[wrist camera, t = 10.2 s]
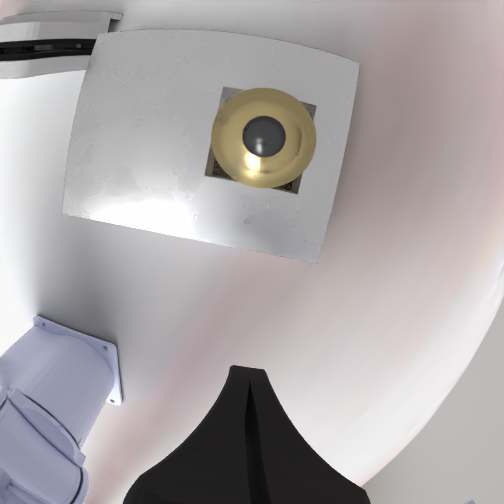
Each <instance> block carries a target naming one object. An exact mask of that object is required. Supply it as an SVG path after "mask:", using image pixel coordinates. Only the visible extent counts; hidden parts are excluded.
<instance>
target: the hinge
mask: <svg viewBox="0 0 504 504" xmlns="http://www.w3.org/2000/svg"><path fill="white" fill-rule="evenodd" d="M122 16H123V14H118V13H113V12H101V11H55V12H41V13H31V14H22V15H15V16H9V17H4V18H3V19H2V20H1V21H0V79H18V78H28V77H33V76H39V75H45V74H52V73H60V72H69V71H79V70H87V67H88V63H89V60H90V57H91V54H92V51H93V49H87V48H82V47H81V44H95V43H96V40H97V37H98V35H99V34H103V33H108V28H109V23H110V19H117V20H121V18H122ZM28 46H35V47H34V51H33V50H27V49H26V47H28Z"/></svg>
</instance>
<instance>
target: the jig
mask: <svg viewBox="0 0 504 504" xmlns="http://www.w3.org/2000/svg"><path fill="white" fill-rule="evenodd" d="M359 66H360V63H359V62H356V61H353V60H350V59H347V58H344V57H341V56H338V55H335V54H331V53H328V52H325V51H321V50H318V49H314V48H310V47H306V46H302V45H298V44H294V43H289V42H285V41H280V40H275V39H270V38H264V37H258V36H252V35H245V34H238V33H229V32H219V31H207V30H188V29H151V30H132V31H120V32H111V33H103V34H99V35H98V37H97V40H96V43H95V46H94V48H93V51H92V54H91V57H90V60H89V63H88V67H87V70H86V73H85V77H84V80H83V84H82V87H81V91H80V95H79V99H78V103H77V108H76V112H75V117H74V122H73V127H72V132H71V138H70V144H69V151H68V158H67V165H66V174H65V184H64V196H63V213H62V214H66V215H71V216H76V217H81V218H86V219H92V220H97V221H102V222H107V223H112V224H117V225H122V226H127V227H133V228H138V229H143V230H148V231H153V232H158V233H163V234H168V235H174V236H179V237H184V238H189V239H194V240H199V241H204V242H209V243H214V244H219V245H225V246H230V247H235V248H240V249H245V250H250V251H255V252H260V253H265V254H270V255H275V256H281V257H286V258H291V259H296V260H301V261H306V262H311V263H316V264H318V260H319V256H320V253H321V249H322V245H323V242H324V238H325V234H326V230H327V226H328V222H329V218H330V214H331V210H332V206H333V202H334V198H335V194H336V189H337V185H338V181H339V176H340V172H341V167H342V162H343V158H344V153H345V148H346V143H347V138H348V133H349V127H350V122H351V116H352V111H353V105H354V99H355V93H356V87H357V80H358V73H359ZM253 88H273V89H277V90H281V91H283V92H286V93H288V94H290V95H292V96H293V97H295V98H296V99H297V100H298V101H300V102H301V103H302V104H303V105H304V107H305V108H306V109H307V110H308V112H309V114H310V115H311V117H312V120H313V122H314V125H315V129H316V148H315V152H314V155H313V158H312V160H311V162H310V163H309V165H308V167H307V168H306V169H305V170H304V171H303V172H302V173H301V174H300V175H299V176H298V177H297V178H296V179H294V180H293V182H292V186H291V190H287V189H282V188H278V187H274V188H255V187H251V186H247V185H244V184H242V183H240V182H238V181H236V180H234V179H233V178H228V177H223V176H217V175H212V174H213V168H214V163H215V155H214V153H213V149H212V144H211V131H212V126H213V122H214V119H215V117H216V115H217V113H218V112H219V110H220V109H221V107H222V106H223V105H224V104H225V103H226V102H227V101H228V99H231V98H232V97H233V96H235V95H237V94H238V93H240V92H243V91H245V90H249V89H253Z"/></svg>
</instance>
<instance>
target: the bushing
mask: <svg viewBox="0 0 504 504" xmlns="http://www.w3.org/2000/svg"><path fill="white" fill-rule="evenodd" d="M211 144H212V149H213V153H214V155H215V158H216V160H217V162H218V163H219V165H220V166H221V168H222V169H223V170H224V171H225V172H226V173H227V174H228V175H229V176H230V177H232V178H233V179H234V180H236V181H238V182H240V183H242V184H244V185H247V186H251V187H255V188H274V187H278V186H282V185H284V184H287V183H289V182H291V181H292V180H294V179H296V178H297V177H298V176H299V175H300V174H301V173H302V172H303V171H304V170H305V169H306V168H307V167H308V165H309V163H310V162H311V160H312V158H313V155H314V152H315V148H316V129H315V125H314V122H313V120H312V117H311V115H310V114H309V112H308V110H307V109H306V108H305V107H304V105H303V104H302V103H301V102H300V101H298V100H297V99H296V98H295V97H293V96H292V95H290V94H288V93H286V92H283V91H281V90H277V89H273V88H253V89H249V90H245V91H243V92H240V93H238V94H237V95H235V96H233V97H232V98H231V99H229V100H228V101H227V102H226V103H225V104H224V105H223V106H222V107H221V109H220V110H219V112H218V113H217V115H216V117H215V119H214V122H213V126H212V131H211Z"/></svg>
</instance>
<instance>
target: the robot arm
mask: <svg viewBox="0 0 504 504" xmlns="http://www.w3.org/2000/svg"><path fill="white" fill-rule="evenodd" d="M33 320H34V325H35V326H33V327H32V328H31V329H30V330H29V331H28V332H27V333H25V334H24V335H23V336H22V337H21V338H20V339H19V340H18V341H17V342H15V343H14V344H13V345H12V346H11V347H10V348H9V349H8V350H7V351H6V352H5V353H4V354H3V355H2V356H1V357H0V504H84V503H85V501H86V499H87V496H88V492H89V476H88V473H87V471H86V469H85V468H84V467H83V466H82V465H83V463H84V461H85V458H86V456H85V455H84V454H82V453H81V451H80V450H81V448H82V446H83V444H84V442H85V440H86V438H87V436H88V434H89V432H90V430H91V428H92V426H93V424H94V422H95V420H96V419H97V417H98V415H99V413H100V411H101V409H102V407H103V406H104V404H105V402H109V403H112V404H115V405H118V406H121V405H122V394H121V386H120V378H119V368H118V357H117V348H116V346H115V345H114V344H112V343H110V342H106V341H103V340H100V339H97V338H94V337H92V336H89V335H86V334H83V333H80V332H77V331H75V330H72V329H69V328H67V327H64V326H62V325H59V324H57V323H54V322H52V321H49V320H47V319H44V318H42V317H40V316H35V317H34V318H33ZM105 346H106V347H107V348H106V347H105ZM123 504H371V503H370V500H369V498H368V496H367V493H366V491H365V490H364V489H362V488H361V487H359V486H357V485H356V484H354V483H353V482H351V481H350V480H348V479H347V478H345V477H344V476H342V475H341V474H340V473H338V472H337V471H336V470H335V469H333V468H332V467H331V466H330V465H329V464H328V463H327V462H326V461H324V460H323V459H322V458H321V457H320V456H319V455H318V454H317V453H316V452H315V451H314V450H313V449H312V448H311V446H310V445H309V444H308V443H307V442H306V441H305V440H304V438H303V437H302V436H301V435H300V433H299V432H298V431H297V429H296V428H295V426H294V425H293V424H292V422H291V420H290V419H289V417H288V416H287V414H286V413H285V411H284V409H283V407H282V406H281V404H280V402H279V400H278V398H277V396H276V394H275V392H274V390H273V388H272V386H271V384H270V381H269V379H268V376H267V374H266V372H265V370H264V369H256V368H249V367H242V366H236V365H233V366H231V367H230V370H229V375H228V378H227V380H226V383H225V385H224V387H223V389H222V391H221V393H220V395H219V396H218V398H217V400H216V402H215V403H214V405H213V406H212V408H211V409H210V411H209V412H208V414H207V415H206V416H205V418H204V419H203V420H202V422H201V423H200V424H199V425H198V426H197V428H196V429H195V430H194V431H193V432H192V433H191V434H190V435H189V436H188V438H187V439H186V440H185V441H184V442H183V443H182V444H181V445H180V446H178V447H177V448H176V449H175V450H174V451H173V452H171V453H170V454H169V455H168V456H167V457H166V458H164V459H163V460H162V461H161V462H159V463H158V464H156V465H155V466H153V467H152V468H150V469H149V470H147V471H146V472H144V473H143V474H141V475H140V476H139V477H138V479H137V480H136V481H135V482H134V484H133V485H132V486H131V488H130V489H129V491H128V493H127V494H126V496H125V498H124V501H123ZM465 504H475V503H474V501H473V500H471V501H469V502H467V503H465Z"/></svg>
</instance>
